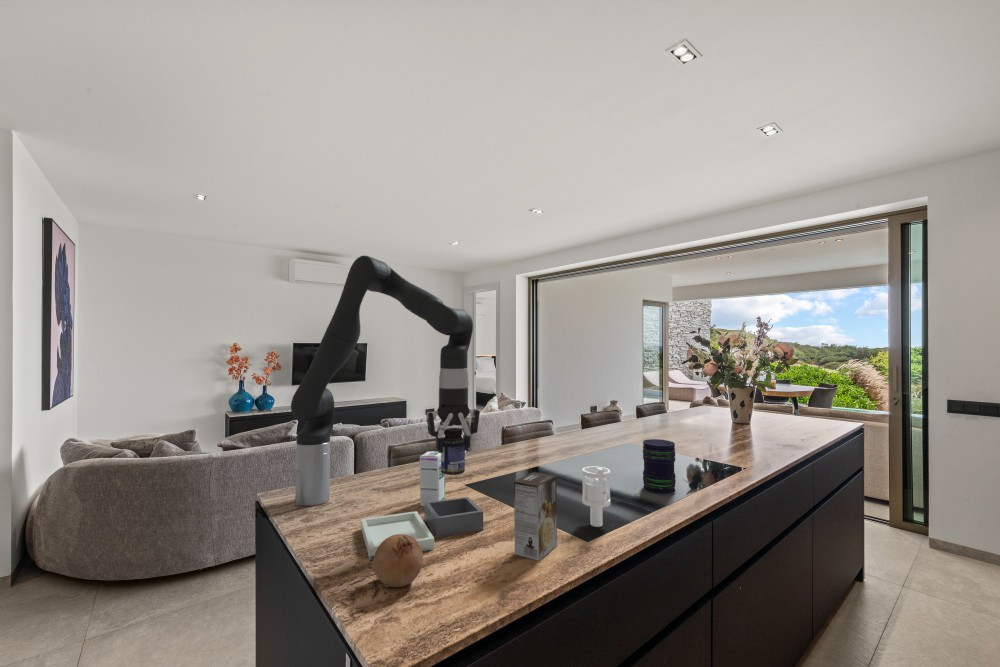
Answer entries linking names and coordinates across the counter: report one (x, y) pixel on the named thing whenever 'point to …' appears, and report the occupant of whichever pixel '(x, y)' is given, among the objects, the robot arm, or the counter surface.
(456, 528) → the holder
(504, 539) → the counter surface
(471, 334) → the robot arm
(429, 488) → the syrup box
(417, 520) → the tray
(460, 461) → the pill bottle
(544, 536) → the coffee box
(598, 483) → the white cylindrical cage part
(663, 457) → the storage jar
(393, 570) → the onion
